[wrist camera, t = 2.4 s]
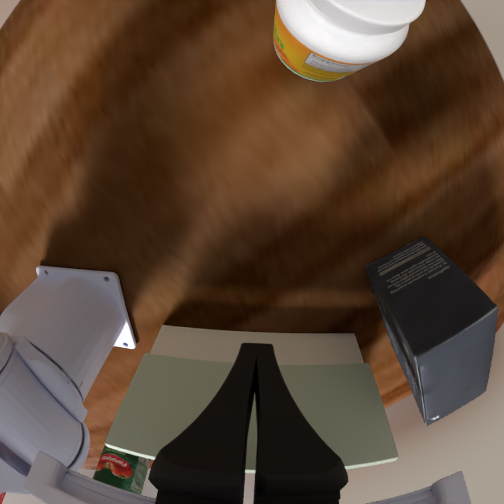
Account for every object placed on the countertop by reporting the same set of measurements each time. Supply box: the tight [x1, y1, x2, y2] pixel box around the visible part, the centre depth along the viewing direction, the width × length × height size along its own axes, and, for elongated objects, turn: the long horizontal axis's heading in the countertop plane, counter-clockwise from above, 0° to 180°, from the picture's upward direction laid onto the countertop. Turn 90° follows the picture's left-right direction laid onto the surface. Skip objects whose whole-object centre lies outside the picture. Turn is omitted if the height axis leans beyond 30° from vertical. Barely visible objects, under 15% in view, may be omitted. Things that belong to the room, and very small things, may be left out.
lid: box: [105, 353, 398, 473], centre depth 15 cm, size 16×8×1 cm
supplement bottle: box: [273, 0, 426, 82], centre depth 9 cm, size 5×5×10 cm
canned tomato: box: [93, 444, 150, 495], centre depth 31 cm, size 8×8×11 cm
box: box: [365, 236, 498, 426], centre depth 16 cm, size 9×6×10 cm, turn 30°
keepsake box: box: [150, 325, 364, 365], centre depth 22 cm, size 16×8×4 cm, turn 89°
